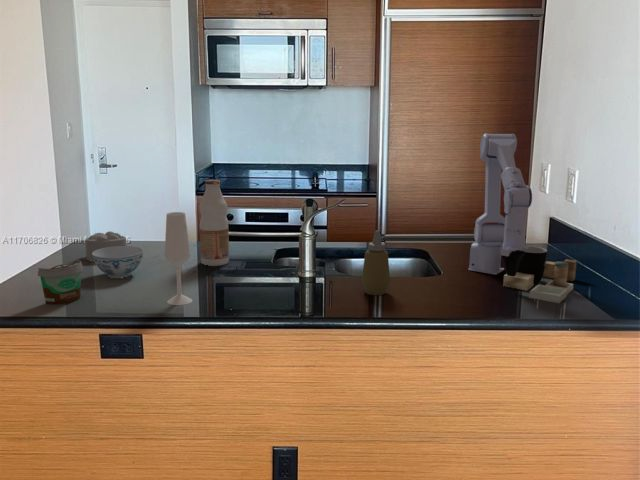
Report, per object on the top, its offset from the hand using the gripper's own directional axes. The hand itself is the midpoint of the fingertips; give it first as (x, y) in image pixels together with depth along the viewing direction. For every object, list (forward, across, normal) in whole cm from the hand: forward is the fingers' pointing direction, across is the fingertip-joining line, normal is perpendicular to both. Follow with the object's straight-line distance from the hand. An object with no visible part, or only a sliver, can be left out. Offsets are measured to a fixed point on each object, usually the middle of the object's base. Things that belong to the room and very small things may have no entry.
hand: (511, 275), depth 169 cm
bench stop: (+5, +23, -4) cm, 24 cm away
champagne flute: (+5, -64, +68) cm, 94 cm away
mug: (+5, +15, 0) cm, 16 cm away
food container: (+5, -82, +92) cm, 124 cm away
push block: (+5, +6, 0) cm, 8 cm away
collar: (+5, +10, -11) cm, 16 cm away
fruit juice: (+5, -30, +90) cm, 95 cm away
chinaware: (+5, -59, +102) cm, 118 cm away
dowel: (+5, +10, -11) cm, 16 cm away
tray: (+5, +1, -10) cm, 11 cm away
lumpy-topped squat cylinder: (+5, -48, +124) cm, 133 cm away
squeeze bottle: (+5, -25, +30) cm, 40 cm away
